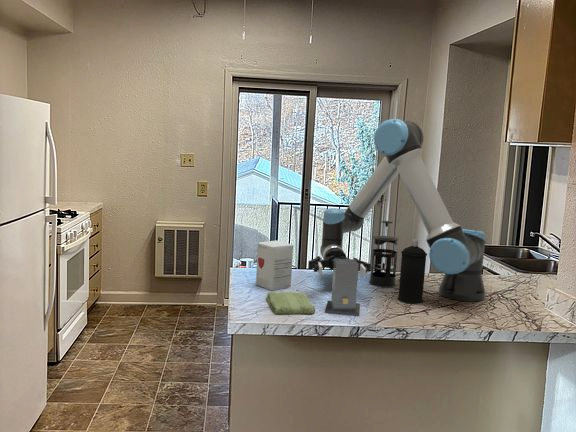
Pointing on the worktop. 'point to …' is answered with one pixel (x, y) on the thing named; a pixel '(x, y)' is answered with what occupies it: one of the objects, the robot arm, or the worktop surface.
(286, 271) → the supplement box
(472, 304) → the worktop surface
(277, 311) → the washcloth
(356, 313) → the post base
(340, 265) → the grey block
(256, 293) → the worktop surface
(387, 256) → the french press
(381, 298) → the worktop surface
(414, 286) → the aerosol can
